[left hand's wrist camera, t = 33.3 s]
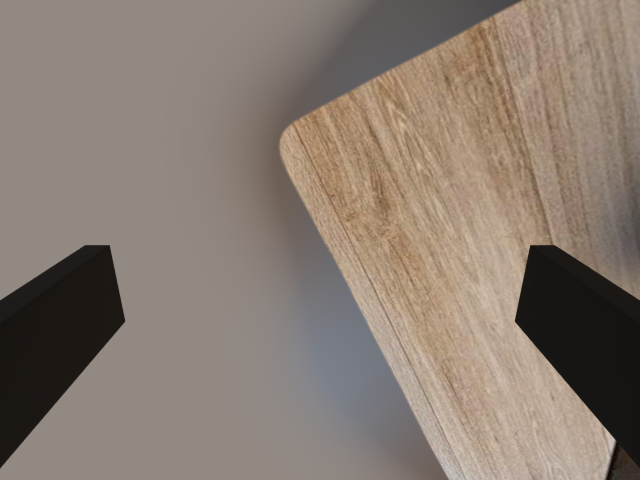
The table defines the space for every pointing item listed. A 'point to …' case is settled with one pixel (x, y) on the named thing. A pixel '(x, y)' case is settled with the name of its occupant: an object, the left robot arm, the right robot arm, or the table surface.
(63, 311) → the left robot arm
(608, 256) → the table surface
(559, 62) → the table surface
